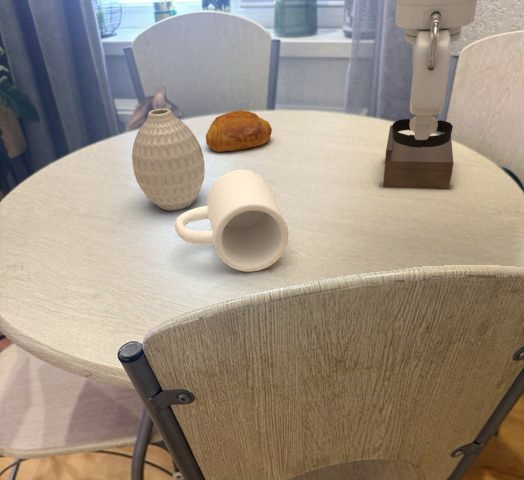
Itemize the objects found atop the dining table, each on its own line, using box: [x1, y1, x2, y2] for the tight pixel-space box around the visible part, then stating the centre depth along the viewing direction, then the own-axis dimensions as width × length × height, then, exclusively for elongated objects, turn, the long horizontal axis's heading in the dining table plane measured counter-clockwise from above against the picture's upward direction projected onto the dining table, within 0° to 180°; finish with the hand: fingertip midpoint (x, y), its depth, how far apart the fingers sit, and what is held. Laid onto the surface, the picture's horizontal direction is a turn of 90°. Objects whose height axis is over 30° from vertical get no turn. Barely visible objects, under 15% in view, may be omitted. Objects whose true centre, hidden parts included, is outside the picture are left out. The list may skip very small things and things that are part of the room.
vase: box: [131, 108, 206, 212], centre depth 96 cm, size 13×13×17 cm
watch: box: [391, 115, 454, 148], centre depth 70 cm, size 8×5×4 cm, turn 68°
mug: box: [174, 169, 289, 273], centre depth 82 cm, size 16×14×11 cm
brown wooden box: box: [382, 124, 454, 190], centre depth 103 cm, size 12×14×7 cm
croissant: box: [205, 109, 273, 153], centre depth 124 cm, size 14×16×8 cm
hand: (421, 130), depth 70 cm, fingers closed on watch, 4 cm apart
